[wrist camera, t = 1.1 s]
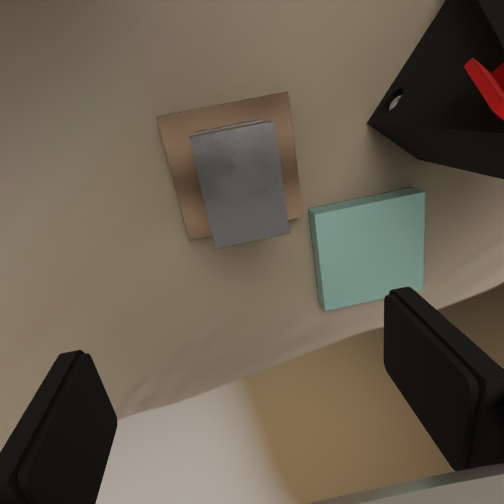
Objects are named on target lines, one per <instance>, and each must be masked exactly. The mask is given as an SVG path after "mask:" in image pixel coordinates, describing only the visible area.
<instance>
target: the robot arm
mask: <svg viewBox="0 0 504 504" xmlns="http://www.w3.org/2000/svg"><path fill="white" fill-rule="evenodd" d="M384 365H385V368H386V371H387V373H388V374H389V376H390V377H391V379H392V380H393V382H394V383H395V384H396V386H397V387H398V389H399V390H400V391H401V393H402V395H403V396H404V398H405V399H406V401H407V402H408V404H409V405H410V407H411V408H412V410H413V411H414V413H415V414H416V416H417V417H418V419H419V420H420V421H421V423H422V424H423V426H424V427H425V429H426V430H427V432H428V433H429V435H430V436H431V438H432V439H433V441H434V442H435V444H436V445H437V447H438V448H439V449H440V451H441V453H442V454H443V455H444V457H445V458H446V460H447V461H448V463H449V464H450V466H451V467H452V468H453V469H454V470H455V471H457V472H452V473H447V474H441V475H436V476H432V477H427V478H421V479H416V480H412V481H407V482H403V483H398V484H394V485H389V486H384V487H380V488H376V489H370V490H366V491H361V492H357V493H353V494H347V495H343V496H338V497H334V498H329V499H325V500H320V501H315V502H311V503H307V504H504V369H503V368H501V367H500V366H499V365H498V364H497V363H496V362H495V361H493V360H492V359H491V358H490V357H489V356H488V355H487V354H486V353H485V352H483V351H482V350H481V349H480V348H479V347H478V346H477V345H476V344H474V343H473V342H472V341H471V340H470V339H469V338H468V337H466V336H465V335H464V334H463V333H462V332H461V331H460V330H459V329H457V328H456V327H455V326H454V325H453V324H451V323H450V322H449V321H448V320H447V319H446V318H445V317H444V316H443V315H441V314H440V313H439V312H438V311H437V310H436V309H435V308H434V307H432V306H431V305H430V304H429V303H428V302H427V301H426V300H425V299H423V298H422V297H421V296H420V295H419V294H418V293H417V292H416V291H414V290H413V289H412V288H411V287H403V288H397V289H392V290H390V292H389V295H386V296H385V299H384ZM116 429H117V417H116V414H115V411H114V409H113V407H112V404H111V402H110V400H109V397H108V395H107V393H106V390H105V388H104V386H103V383H102V381H101V379H100V376H99V374H98V372H97V369H96V367H95V365H94V362H93V360H92V358H91V356H90V355H89V354H85V353H84V352H83V351H82V350H77V351H72V352H67V353H62V354H60V355H59V356H58V357H57V359H56V361H55V362H54V364H53V366H52V367H51V369H50V371H49V372H48V374H47V376H46V377H45V379H44V381H43V382H42V384H41V386H40V387H39V389H38V391H37V392H36V394H35V396H34V397H33V399H32V401H31V402H30V404H29V406H28V407H27V409H26V411H25V412H24V414H23V416H22V417H21V419H20V421H19V422H18V424H17V426H16V427H15V429H14V431H13V432H12V434H11V436H10V437H9V439H8V441H7V442H6V444H5V446H4V447H3V449H2V451H1V452H0V504H95V503H96V499H97V496H98V492H99V489H100V485H101V482H102V478H103V475H104V471H105V468H106V464H107V460H108V457H109V454H110V450H111V446H112V443H113V439H114V436H115V432H116Z"/></svg>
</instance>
